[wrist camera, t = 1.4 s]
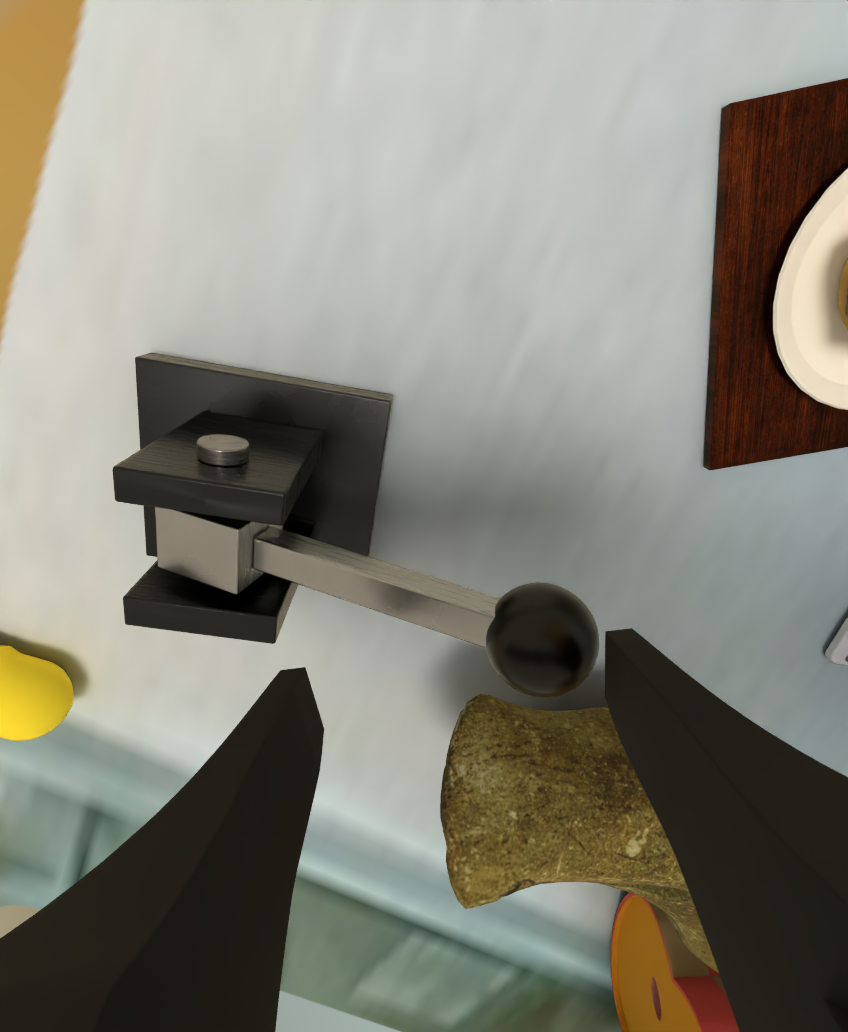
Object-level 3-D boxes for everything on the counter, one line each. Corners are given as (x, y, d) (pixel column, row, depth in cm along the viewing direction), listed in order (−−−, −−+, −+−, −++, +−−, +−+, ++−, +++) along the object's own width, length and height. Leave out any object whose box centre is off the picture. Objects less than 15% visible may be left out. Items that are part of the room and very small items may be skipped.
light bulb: (105, 686, 25) (65, 726, 26) (16, 596, 24) (-20, 639, 25) (43, 728, 21) (0, 772, 22) (-60, 624, 21) (-98, 673, 22)
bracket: (393, 394, 20) (380, 453, 13) (366, 571, 23) (345, 691, 16) (150, 352, 19) (5, 392, 12) (159, 542, 22) (49, 655, 15)
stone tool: (691, 883, 30) (774, 739, 29) (828, 1072, 22) (955, 878, 20) (376, 788, 26) (457, 617, 25) (388, 973, 18) (513, 723, 16)
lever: (612, 582, 14) (617, 644, 12) (580, 665, 15) (578, 738, 13) (215, 464, 17) (144, 492, 14) (214, 543, 18) (149, 584, 15)
